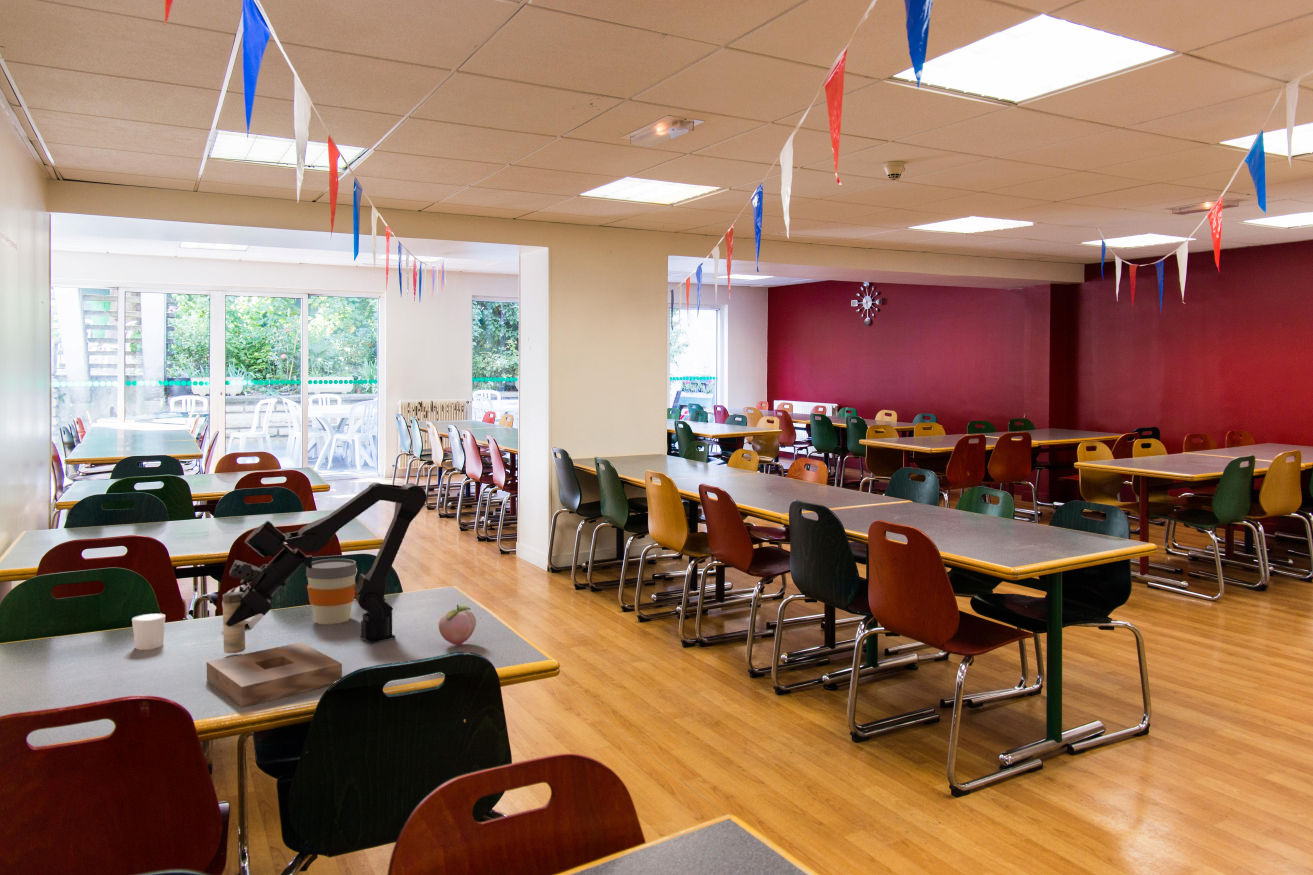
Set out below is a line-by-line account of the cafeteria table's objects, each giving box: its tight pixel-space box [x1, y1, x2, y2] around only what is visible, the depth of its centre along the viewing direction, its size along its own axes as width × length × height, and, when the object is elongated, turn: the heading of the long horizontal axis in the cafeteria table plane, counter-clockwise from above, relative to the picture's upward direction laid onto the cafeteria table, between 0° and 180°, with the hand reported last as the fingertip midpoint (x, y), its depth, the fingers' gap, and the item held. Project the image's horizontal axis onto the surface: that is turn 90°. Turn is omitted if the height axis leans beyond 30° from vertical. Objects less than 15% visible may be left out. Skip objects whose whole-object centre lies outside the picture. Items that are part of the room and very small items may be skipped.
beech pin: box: [222, 592, 246, 654], centre depth 195 cm, size 4×4×13 cm
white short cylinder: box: [131, 612, 166, 651], centre depth 201 cm, size 7×7×7 cm
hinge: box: [221, 584, 265, 629], centre depth 223 cm, size 17×5×10 cm, turn 12°
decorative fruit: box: [438, 604, 477, 646], centre depth 205 cm, size 9×8×10 cm
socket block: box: [206, 641, 343, 708], centre depth 179 cm, size 20×20×4 cm
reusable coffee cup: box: [305, 558, 358, 625], centre depth 225 cm, size 13×13×15 cm
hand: (227, 622), depth 194 cm, fingers closed on beech pin, 4 cm apart
